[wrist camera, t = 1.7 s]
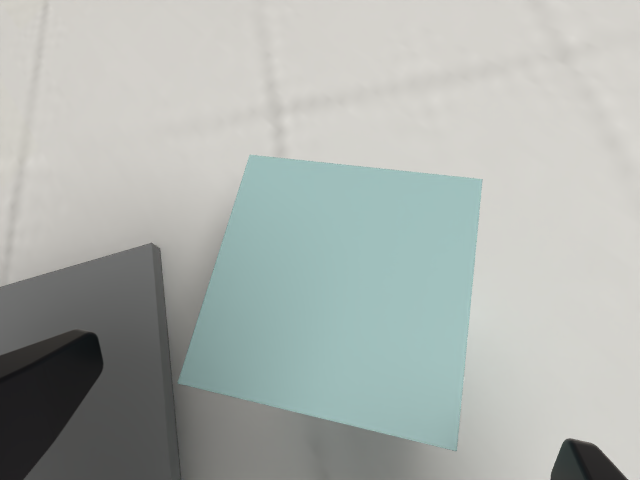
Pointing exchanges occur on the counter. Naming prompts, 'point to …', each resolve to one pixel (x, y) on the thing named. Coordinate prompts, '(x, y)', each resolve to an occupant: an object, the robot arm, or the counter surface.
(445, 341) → the pale teal box
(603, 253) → the counter surface
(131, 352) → the mat
